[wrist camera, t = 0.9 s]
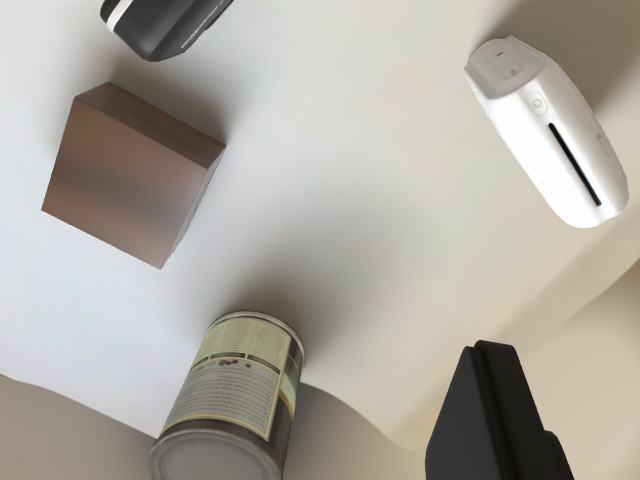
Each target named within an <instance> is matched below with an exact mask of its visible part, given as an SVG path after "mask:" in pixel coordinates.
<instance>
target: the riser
mask: <svg viewBox="0 0 640 480" xmlns="http://www.w3.org/2000/svg"><path fill="white" fill-rule="evenodd" d="M225 149H226V146H224V145H223V144H221V143H219V142H217V141H215V140H214V139H212V138H210V137H208V136H206V135H204V134H203V133H201V132H199V131H197V130H195V129H194V128H192V127H190V126H188V125H186V124H185V123H183V122H181V121H179V120H177V119H176V118H174V117H172V116H170V115H168V114H167V113H165V112H163V111H161V110H159V109H158V108H156V107H154V106H152V105H150V104H148V103H147V102H145V101H143V100H141V99H139V98H138V97H136V96H134V95H132V94H130V93H129V92H127V91H125V90H123V89H121V88H120V87H118V86H116V85H114V84H112V83H111V82H106V83H104V84H102V85H100V86H97V87H95V88H93V89H91V90H89V91H86V92H84V93H82V94H80V95H78V96H75V97H74V100H73V104H72V107H71V111H70V114H69V117H68V121H67V124H66V128H65V131H64V134H63V138H62V141H61V144H60V148H59V151H58V155H57V158H56V161H55V165H54V168H53V172H52V175H51V178H50V182H49V185H48V188H47V192H46V195H45V199H44V202H43V205H42V209H41V210H42V211H44V212H46V213H48V214H50V215H52V216H54V217H56V218H58V219H60V220H62V221H64V222H66V223H68V224H70V225H72V226H74V227H76V228H78V229H80V230H82V231H84V232H86V233H88V234H90V235H92V236H94V237H96V238H98V239H100V240H102V241H104V242H106V243H108V244H110V245H112V246H114V247H116V248H118V249H120V250H122V251H124V252H126V253H128V254H130V255H132V256H134V257H136V258H138V259H140V260H142V261H144V262H146V263H148V264H150V265H152V266H154V267H156V268H158V269H161V268H162V267H163V266H164V264H165V263H166V261H167V260H168V258H169V257H170V256H171V254H172V253H173V251H174V250H175V248H176V247H177V246H178V244H179V243H180V241H181V240H182V238H183V236H184V234H185V232H186V230H187V228H188V226H189V223H190V221H191V219H192V217H193V215H194V213H195V211H196V209H197V207H198V205H199V203H200V201H201V199H202V196H203V194H204V192H205V190H206V188H207V186H208V184H209V182H210V180H211V178H212V176H213V174H214V172H215V169H216V167H217V165H218V163H219V161H220V159H221V157H222V155H223V153H224V151H225Z"/></svg>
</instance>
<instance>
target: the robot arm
mask: <svg viewBox="0 0 640 480" xmlns="http://www.w3.org/2000/svg"><path fill="white" fill-rule="evenodd" d="M425 471H426V480H574V477H573V475H572V472H571V469H570V467H569V464H568V462H567V459H566V456H565V453H564V451H563V448H562V446H561V444H560V442H559V440H558V438H557V436H555V435H554V434H553V433H552V432H551V431H546V430H544V428H543V425H542V422H541V419H540V417H539V414H538V411H537V408H536V406H535V403H534V400H533V397H532V394H531V391H530V389H529V386H528V383H527V380H526V378H525V375H524V372H523V369H522V366H521V364H520V361H519V358H518V355H517V353H516V350H515V348H514V347H513V346H511V345H507V344H501V343H495V342H490V341H484V340H478V341H477V342H476V343H475V346H474V347H469V346H466V347H465V348H464V349H463V351H462V354H461V357H460V359H459V362H458V365H457V368H456V370H455V373H454V376H453V378H452V381H451V384H450V387H449V389H448V392H447V395H446V397H445V400H444V403H443V406H442V408H441V411H440V414H439V416H438V419H437V422H436V425H435V427H434V430H433V433H432V435H431V438H430V441H429V444H428V446H427V450H426V458H425Z"/></svg>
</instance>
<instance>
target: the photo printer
mask: <svg viewBox="0 0 640 480" xmlns="http://www.w3.org/2000/svg"><path fill="white" fill-rule="evenodd" d="M464 70H465V73H466V76H467V79H468V82H469V84H470V86H471V88H472V90H473V91H474V93H475V95H476V97H477V98H478V100H479V102H480V104H481V105H482V107H483V108H484V110H485V112H486V113H487V115H488V117H489V118H490V120H491V122H492V123H493V125H494V126H495V128H496V129H497V131H498V133H499V134H500V136H501V137H502V139H503V140H504V142H505V143H506V145H507V146H508V148H509V149H510V151H511V152H512V154H513V155H514V156H515V158H516V159H517V161H518V162H519V163H520V165H521V166H522V168H523V169H524V170H525V172H526V173H527V174H528V176H529V177H530V179H531V180H532V181H533V183H534V184H535V185H536V187H537V188H538V190H539V191H540V193H541V194H542V195H543V197H544V198H545V200H546V201H547V202H548V204H549V205H550V206H551V208H552V209H553V210H554V211H555V213H556V214H557V215H558V216H559V217H560V218H562V219H563V220H564V221H565V222H567V223H568V224H570V225H572V226H574V227H581V228H587V227H593V226H598V225H599V224H601V223H602V222H603V221H605V220H607V219H609V218H611V217H614V216H617V215H619V214H620V213H621V212H622V211H623V209H624V208H625V206H626V205H627V203H628V199H629V192H628V186H627V178H626V176H625V173H624V171H623V168H622V166H621V164H620V162H619V160H618V158H617V156H616V153H615V151H614V149H613V147H612V146H611V144H610V142H609V140H608V138H607V136H606V134H605V132H604V130H603V129H602V127H601V125H600V123H599V122H598V120H597V118H596V117H595V115H594V113H593V112H592V110H591V109H590V107H589V105H588V104H587V102H586V100H585V99H584V97H583V96H582V94H581V93H580V91H579V90H578V88H577V87H576V86H575V84H574V83H573V82H572V81H571V80H570V78H569V77H568V76H567V74H566V73H565V72H564V71H563V70H562V69H561V67H560V66H559V65H558V64H557V63H556V62H555V61H553V60H552V59H551V58H550V57H549V56H547V55H545V54H544V53H542V52H540V51H538V50H536V49H535V48H533V47H531V46H529V45H527V44H526V43H524V42H522V41H520V40H519V39H517V38H515V37H514V36H511V35H509V36H508V37H506V38H505V39H501V38H499V39H493V40H490V41H488V42H486V43H484V44H482V45H481V46H480V47H479V48H477V50H476V51H475V52H474V53H473V55H472V56H471V58H470V60H469V64H468V65H467V66H466V67H465V68H464Z"/></svg>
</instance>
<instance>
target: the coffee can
mask: <svg viewBox="0 0 640 480" xmlns="http://www.w3.org/2000/svg"><path fill="white" fill-rule="evenodd" d="M303 365H304V349H303V346H302V343H301V341H300V339H299V338H298V336H297V335H296V333H295V332H294V331H293V330H292V329H291V328H290V327H289V326H287V325H286V324H285V323H283V322H282V321H280V320H279V319H277V318H274V317H272V316H270V315H267V314H263V313H259V312H253V311H251V312H247V311H241V312H235V313H231V314H228V315H225V316H223V317H221V318H219V319H217V320H216V321H215V322H214V323H213V324H212V325H211V326H210V327H209V328H208V330H207V332H206V334H205V336H204V340H203V342H202V345H201V347H200V349H199V351H198V353H197V355H196V357H195V359H194V362H193V364H192V366H191V369H190V371H189V373H188V375H187V377H186V379H185V381H184V384H183V386H182V388H181V390H180V392H179V395H178V397H177V399H176V401H175V403H174V405H173V408H172V410H171V412H170V414H169V416H168V418H167V421H166V423H165V425H164V427H163V430H162V432H161V434H160V436H159V438H158V439H157V440H156V442H155V443H154V445H153V447H152V449H151V451H150V453H149V457H148V469H149V473H150V476H151V478H152V480H283V470H284V465H285V459H286V454H287V448H288V442H289V437H290V431H291V426H292V420H293V415H294V409H295V404H296V398H297V393H298V387H299V382H300V377H301V371H302V368H303Z"/></svg>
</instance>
